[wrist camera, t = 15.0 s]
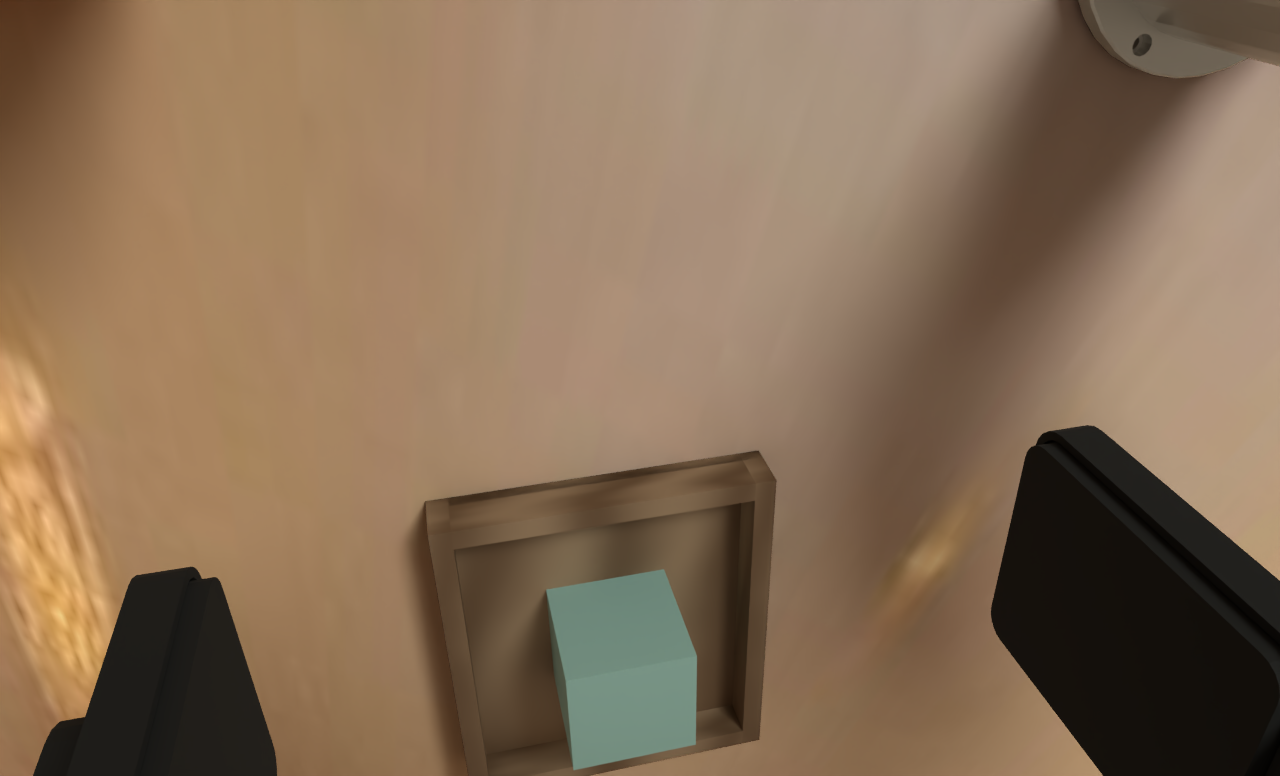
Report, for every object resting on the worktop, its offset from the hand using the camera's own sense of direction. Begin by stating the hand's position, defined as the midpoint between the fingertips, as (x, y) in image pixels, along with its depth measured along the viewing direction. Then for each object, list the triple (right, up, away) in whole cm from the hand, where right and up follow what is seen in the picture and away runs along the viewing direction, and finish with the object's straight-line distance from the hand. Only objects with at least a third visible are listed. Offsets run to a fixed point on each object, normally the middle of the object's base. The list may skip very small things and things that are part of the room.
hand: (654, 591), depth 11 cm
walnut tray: (-2, -10, +39) cm, 40 cm away
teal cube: (-2, -10, +38) cm, 40 cm away
